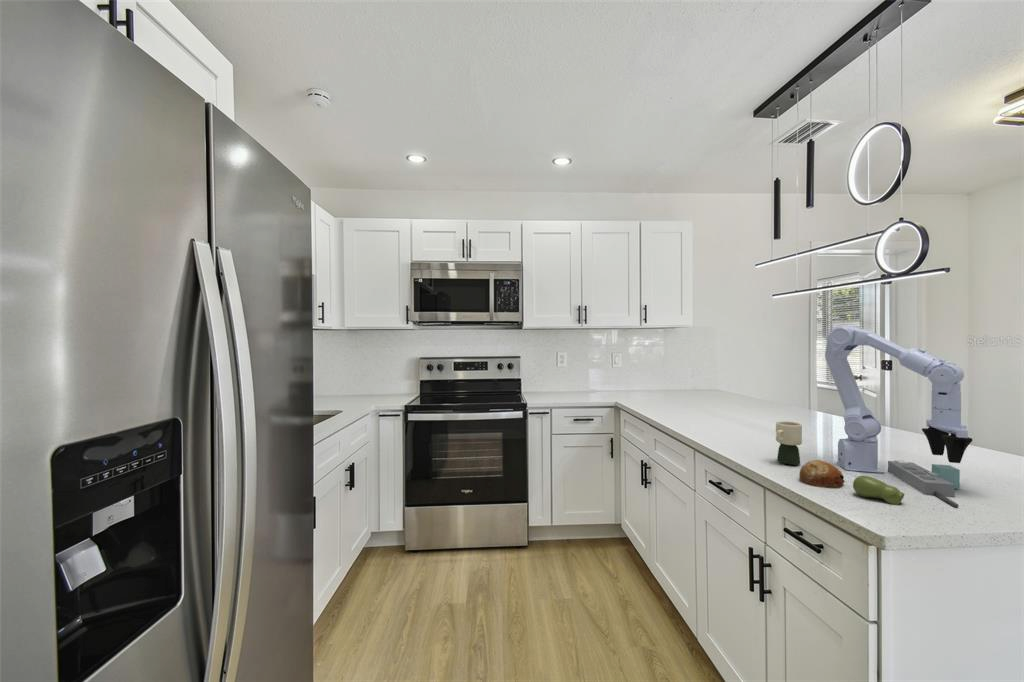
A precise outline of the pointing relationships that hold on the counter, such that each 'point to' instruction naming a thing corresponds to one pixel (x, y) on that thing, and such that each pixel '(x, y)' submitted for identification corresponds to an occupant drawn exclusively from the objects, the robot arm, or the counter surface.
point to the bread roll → (821, 474)
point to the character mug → (788, 441)
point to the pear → (877, 489)
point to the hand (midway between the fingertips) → (945, 458)
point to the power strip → (923, 480)
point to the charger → (946, 473)
